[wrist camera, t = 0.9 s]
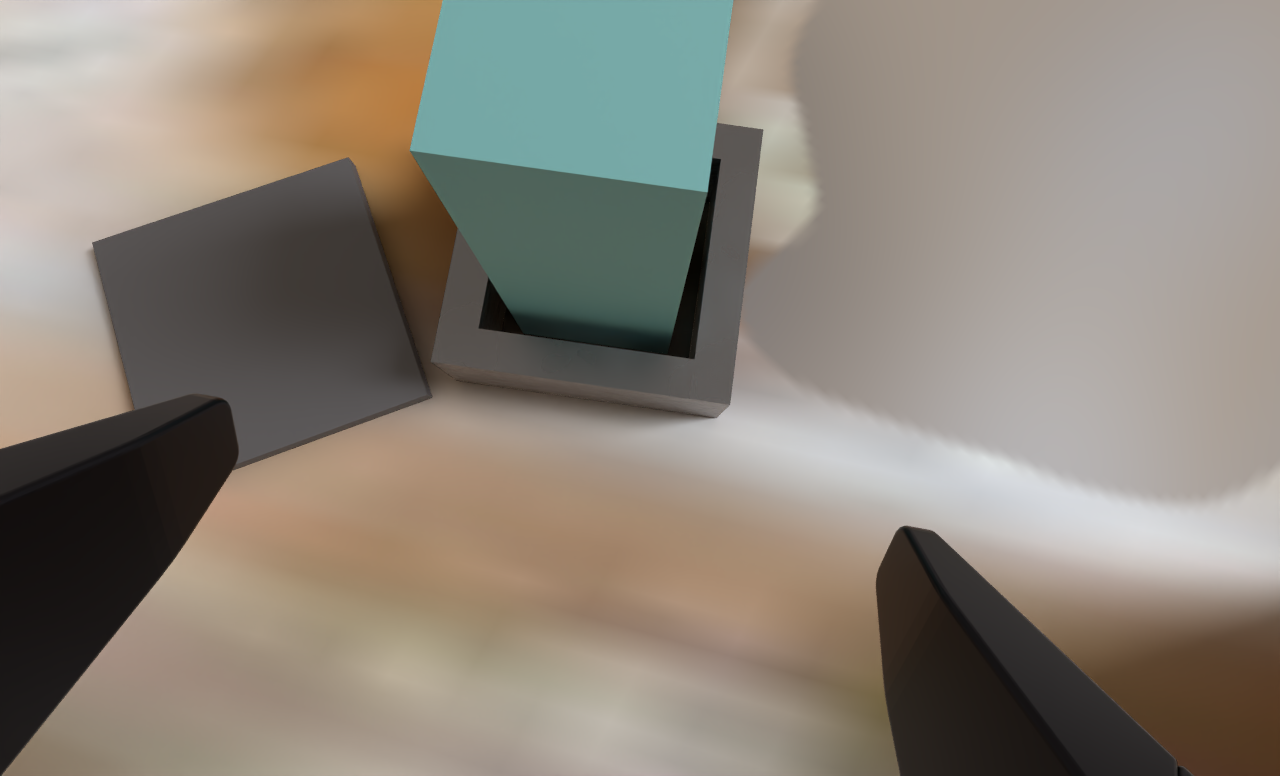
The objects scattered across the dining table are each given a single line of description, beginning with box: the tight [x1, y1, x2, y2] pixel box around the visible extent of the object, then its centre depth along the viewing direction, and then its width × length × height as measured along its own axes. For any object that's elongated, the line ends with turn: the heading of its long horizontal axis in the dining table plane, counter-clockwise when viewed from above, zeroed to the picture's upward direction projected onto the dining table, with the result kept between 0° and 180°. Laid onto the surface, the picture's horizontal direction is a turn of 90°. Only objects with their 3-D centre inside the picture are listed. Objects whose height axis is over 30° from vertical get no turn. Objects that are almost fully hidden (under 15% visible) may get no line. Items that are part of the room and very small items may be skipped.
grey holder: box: [431, 123, 763, 418], centre depth 22 cm, size 9×9×3 cm
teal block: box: [410, 0, 733, 354], centre depth 17 cm, size 5×5×12 cm
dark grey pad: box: [92, 157, 432, 470], centre depth 22 cm, size 9×9×1 cm
